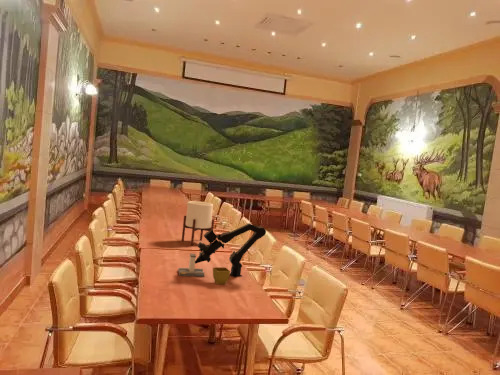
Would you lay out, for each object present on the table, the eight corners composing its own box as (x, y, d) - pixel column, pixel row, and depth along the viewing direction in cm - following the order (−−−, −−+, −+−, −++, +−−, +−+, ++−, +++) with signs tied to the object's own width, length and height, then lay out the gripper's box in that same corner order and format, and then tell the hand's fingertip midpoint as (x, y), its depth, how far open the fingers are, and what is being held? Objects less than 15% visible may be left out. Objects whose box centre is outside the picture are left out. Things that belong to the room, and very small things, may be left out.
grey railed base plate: (202, 271, 286) (202, 267, 286) (204, 276, 275) (204, 273, 274) (178, 270, 282) (178, 266, 282) (179, 275, 271) (179, 272, 271)
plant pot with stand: (213, 245, 373) (217, 205, 371) (190, 246, 360) (194, 204, 358) (201, 239, 392) (205, 201, 389) (179, 240, 379) (183, 200, 376)
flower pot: (211, 281, 267) (212, 267, 266) (224, 280, 270) (225, 267, 270) (215, 285, 259) (217, 271, 258) (228, 285, 262) (230, 271, 262)
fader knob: (193, 269, 282) (195, 253, 281) (194, 272, 276) (196, 256, 275) (188, 269, 281) (189, 253, 280) (189, 272, 275) (190, 255, 274)
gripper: (203, 235, 288) (185, 250, 286) (207, 241, 270) (188, 257, 268) (213, 247, 290) (196, 262, 288) (218, 254, 272) (199, 270, 270)
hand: (194, 262), depth 278 cm, fingers closed, pressing on fader knob
